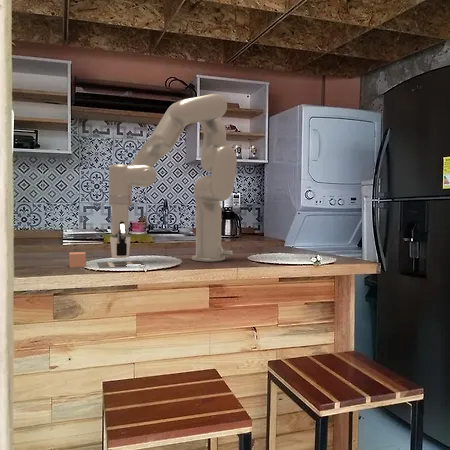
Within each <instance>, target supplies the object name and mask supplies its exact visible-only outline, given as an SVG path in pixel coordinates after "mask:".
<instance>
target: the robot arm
mask: <svg viewBox="0 0 450 450" xmlns="http://www.w3.org/2000/svg"><path fill="white" fill-rule="evenodd" d="M227 110H228V103H227V100H226V99H225V98H224V96H223V95H221V94H219V93H210V94H209V93H208V94H205V95H201V96H195V97H190V98H189V97H188V98H183V99H180V100H178V101H177V102H174V103H171V105H170V106H169V107H168V108H167V110H166V111H165V113H164V114H163V116H162V117H161V119H160V121H159V123H158V124H157V126H156V127H155V129H154V131H153V133H152V134H151V135H150V137H149V138H148V139H147V140H146V142H145V143H144V145H143V146H141V148H140V150H139V151H138V152H137V154H136V155H135V157H134V158H133V159H132V162H131V163H130V164H129V165H128V164H121V163H120V164H119V163H118V164H117V163H116V164H111V165H110V166H109V167H108V206H111V215H110V216H111V219H110V220H111V221H110V222H111V223H110V234H112V236H117V241H118V244H117V256H126V255H127V243H126V236H128V234H129V213H130V212H129V207H130V206H132V203H133V201H132V199H133V190H132V189H133V188H132V187H135V188H145V187H146V188H147V187H150V186H152V185H153V184H154V183H155V182H156V180H157V172H156V171H157V170H155V168H154V166H155V165H156V163H158V161H159V160H160V159H162V158H163V157H164V156H166V155H167V154H169V152H171V151H172V150H173V149H174V147H175V145H176V143H177V142H178V140H179V138H180V136H181V134H182V133H183V131H184V129H186V126H187V125H191V124H195V123H199V124H200V127H201V128H202V131H203V139H202V149H201V157H200V166H201V168H202V169H203V170H204V171H206V172H208V173H210V174H211V175H204V176H201V177H200V178H198V179H196V182H195V184H194V185H193V194H194V201H195V254H194V255H192V256H191V260H192V261H197V262H221V261H224V260H226V256H232V257H233V250H229V249H227V250H225V249H224V247H223V246H222V207H221V202H223V201H226V200H228V199H229V198H230V197H231V196H232V194H233V191H234V186H235V179H236V171H237V163H238V159H237V155H236V152H235V150H234V148H232V147H231V146H230V145H228V144H227V129H226V126H225V124H224V121H223V120H222V117H223V116H224V115H225V114H226V113H227Z"/></svg>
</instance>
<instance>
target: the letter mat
mask: <svg viewBox="0 0 450 450" xmlns="http://www.w3.org/2000/svg"><path fill="white" fill-rule="evenodd" d="M96 264H97V267H98V268H99V269H117V268H118V269H119V268H128V267H127V266H126V265H127V264H141V265H145V264H144V262H142V261H141V260H124V261H123V260H121V261H119V260H118V261H100V262H99V261H97V262H96Z"/></svg>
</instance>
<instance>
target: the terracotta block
mask: <svg viewBox="0 0 450 450" xmlns="http://www.w3.org/2000/svg"><path fill="white" fill-rule="evenodd" d="M68 256H69V269H70V268H71V269H73V268H86V267H87V254H86V251H81V252H80V251H79V252H78V251H77V252H76V251H75V252H74V251H73V252H72V251H71V252H69V255H68Z"/></svg>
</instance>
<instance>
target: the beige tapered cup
mask: <svg viewBox="0 0 450 450" xmlns="http://www.w3.org/2000/svg"><path fill="white" fill-rule="evenodd" d="M109 243H110V251H111V258H113V259H126V258H127V259H128V258H130V250H131V249H130V248H131V236H130V235H129V236H128V235H126V243H127V255H126V256H117V244H118V241H117V236H115V235H111V236H109Z"/></svg>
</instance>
